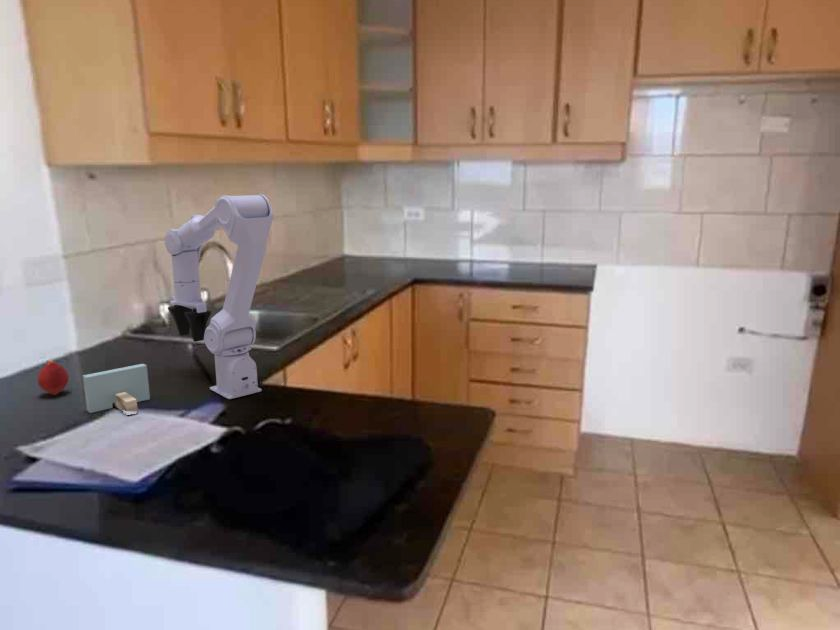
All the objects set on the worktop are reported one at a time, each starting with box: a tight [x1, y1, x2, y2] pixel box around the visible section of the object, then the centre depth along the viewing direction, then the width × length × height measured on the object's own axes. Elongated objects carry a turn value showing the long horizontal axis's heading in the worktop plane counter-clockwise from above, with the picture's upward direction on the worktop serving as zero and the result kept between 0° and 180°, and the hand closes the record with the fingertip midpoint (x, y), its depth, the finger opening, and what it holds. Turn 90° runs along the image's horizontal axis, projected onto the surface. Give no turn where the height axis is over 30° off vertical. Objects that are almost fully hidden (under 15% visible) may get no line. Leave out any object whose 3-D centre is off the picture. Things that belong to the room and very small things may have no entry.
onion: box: [37, 359, 70, 396], centre depth 139 cm, size 6×6×8 cm
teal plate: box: [82, 363, 151, 414], centre depth 133 cm, size 2×12×8 cm, turn 133°
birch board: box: [112, 392, 139, 411], centre depth 134 cm, size 16×2×3 cm, turn 43°
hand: (191, 337), depth 151 cm, fingers open, 7 cm apart
